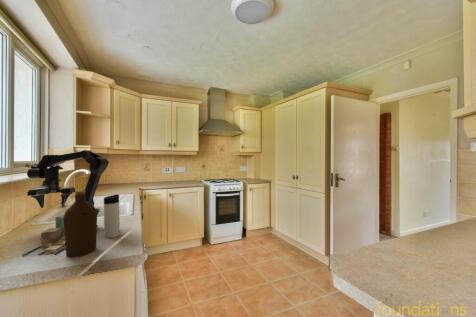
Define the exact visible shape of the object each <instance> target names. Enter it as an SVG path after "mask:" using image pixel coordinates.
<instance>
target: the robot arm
mask: <svg viewBox="0 0 476 317" xmlns="http://www.w3.org/2000/svg"><path fill="white" fill-rule="evenodd" d="M81 159H84V161H85V162H86V163H88V164H89V168H88V169H89V173H90V174H89V177H88V179H87V182H86V186H85V189H84V191H85V194H86V201H87V202H89V203H90V204H91V205H93V206H94V207H95V201H94V197H95V195H96V192H97V188H98V185H99V183H100V180H101V177H102V175H103V173H104V172H105V171H106V169H107V167H108V166H109V164H110V163H109V160H108V159H107V158H106V157H103V156H101V155H99V154H97V153H94V152H93V151H91V149H90V150H87V149H82V150H80V151H74V152H69V153H63V154H44V155H43V156H42V158H41V159H40V160H39V162H38V164H36V165H31V166H30V168H29V169H28V170H27V172H26V175H27V178H29V179H32V180H33V179H44V180H42V184H40V185H39V186H38V187H37V188H33V189H29V190H27V192H26V193H27V197H28V196H30V198H33V199H35V200H36V202H37V203H38V205H39V206H40V208H41V209H44V208H45V195H49V194H54V193H55V194H56V193H57V194H58V193H61V194H60V197H61V207H62V208H64V207H65V205H66V203H67V201H68V199H69V197H70V195H73V193H75V192H76V188H75V187H74V186H68V187H63V188H62V186H60V182H61V179H60V170H64V167H62V166H61V165H63V164H64V163H66V162H71V161H74V160H76V161H77V160H81ZM96 210H97V216H98V215H99V212H100V211H99V210H98V209H97V208H96ZM97 227H98V224H97Z"/></svg>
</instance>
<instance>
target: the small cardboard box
mask: <svg viewBox="0 0 476 317" xmlns="http://www.w3.org/2000/svg"><path fill="white" fill-rule="evenodd" d="M61 248H63V245H56V246H51V247H49V248H47V249H45V254H47V253H54V252H56V251H58V250H59V249H61Z"/></svg>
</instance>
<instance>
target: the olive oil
mask: <svg viewBox="0 0 476 317" xmlns="http://www.w3.org/2000/svg"><path fill="white" fill-rule="evenodd" d="M74 194H75V195H74V202H73V203H72V204H71V205H70V206H69V207H68V208H67V209H66V210H65V212H64V214H63V215H64V217H63V222H64V232H65V246H66V249H65V254H66V255H65V256H66V257H67V258H72V259H73V258H75V259H76V258H81V257H84V256H88V255H89V254H92V253H93V252H95V251H96V250H97V231H98V228H97V227H98V226H97V225H98V215H97V210H98V209H97V208H96V207H95V205H94V206H93V205H91V204H90V203H89V202H87V201H86V194H85V190H78V191H75V192H74ZM96 209H97V210H96Z"/></svg>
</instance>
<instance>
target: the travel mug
mask: <svg viewBox="0 0 476 317" xmlns="http://www.w3.org/2000/svg"><path fill="white" fill-rule="evenodd" d="M120 219H121V218H120V194H111V195H107V196H106V197H103V227H104V229H103V231H104V234H103V235H104V238H105V239H111V238H116V237H118V236H120V234H121V232H120V230H121V227H120V224H121V223H120Z"/></svg>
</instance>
